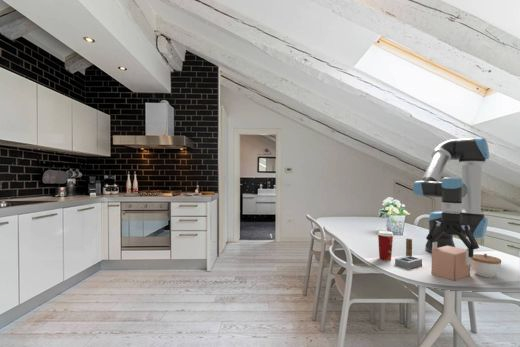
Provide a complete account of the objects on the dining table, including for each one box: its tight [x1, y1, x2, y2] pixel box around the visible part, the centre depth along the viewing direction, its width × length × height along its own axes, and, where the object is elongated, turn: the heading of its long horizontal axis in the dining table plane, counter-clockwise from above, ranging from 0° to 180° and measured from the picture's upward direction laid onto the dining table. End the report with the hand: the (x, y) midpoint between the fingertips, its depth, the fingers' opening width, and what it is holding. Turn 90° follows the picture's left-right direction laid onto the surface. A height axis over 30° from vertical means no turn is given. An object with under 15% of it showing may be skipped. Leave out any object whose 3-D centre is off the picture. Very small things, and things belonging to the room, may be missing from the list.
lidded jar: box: [470, 253, 502, 279], centre depth 125 cm, size 11×11×9 cm
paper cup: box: [377, 230, 394, 261], centre depth 148 cm, size 8×8×14 cm
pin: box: [405, 237, 413, 257], centre depth 150 cm, size 3×3×10 cm
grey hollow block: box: [394, 255, 423, 270], centre depth 138 cm, size 11×7×3 cm, turn 121°
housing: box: [431, 246, 471, 282], centre depth 125 cm, size 13×9×11 cm
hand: (450, 260), depth 125 cm, fingers open, 13 cm apart
